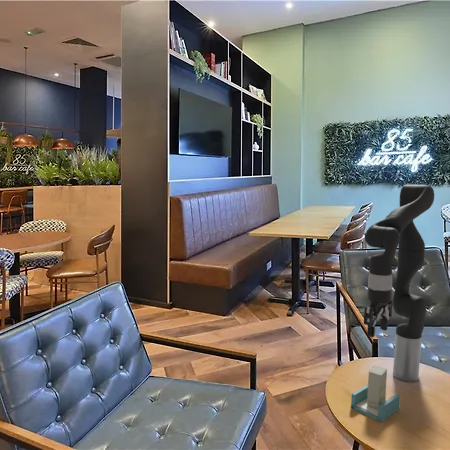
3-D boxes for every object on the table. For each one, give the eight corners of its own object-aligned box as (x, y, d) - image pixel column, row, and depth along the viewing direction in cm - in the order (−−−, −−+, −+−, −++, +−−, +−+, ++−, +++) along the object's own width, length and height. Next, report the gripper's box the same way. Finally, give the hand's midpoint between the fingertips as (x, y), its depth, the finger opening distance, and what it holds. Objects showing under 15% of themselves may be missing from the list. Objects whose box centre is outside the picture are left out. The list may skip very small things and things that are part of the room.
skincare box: (379, 410, 138) (381, 375, 137) (366, 405, 141) (368, 371, 139) (385, 402, 143) (387, 368, 141) (372, 398, 146) (374, 365, 144)
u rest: (369, 395, 150) (370, 382, 149) (399, 408, 142) (400, 395, 141) (350, 407, 142) (351, 393, 141) (381, 422, 134) (381, 407, 133)
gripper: (380, 280, 146) (377, 324, 148) (358, 288, 136) (355, 335, 139) (401, 284, 140) (398, 330, 142) (379, 293, 131) (376, 342, 133)
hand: (377, 333), depth 140 cm, fingers open, 8 cm apart
